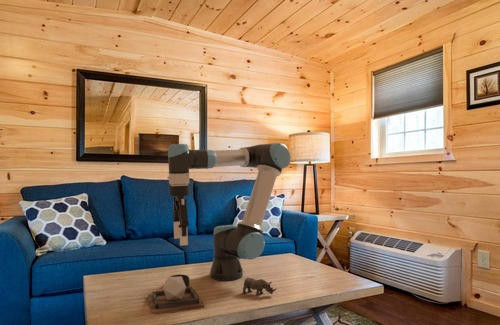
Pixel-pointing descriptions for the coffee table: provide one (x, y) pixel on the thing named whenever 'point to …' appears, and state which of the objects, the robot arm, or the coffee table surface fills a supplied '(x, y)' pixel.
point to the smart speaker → (185, 279)
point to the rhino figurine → (257, 286)
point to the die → (174, 288)
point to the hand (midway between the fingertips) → (180, 241)
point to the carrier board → (174, 302)
